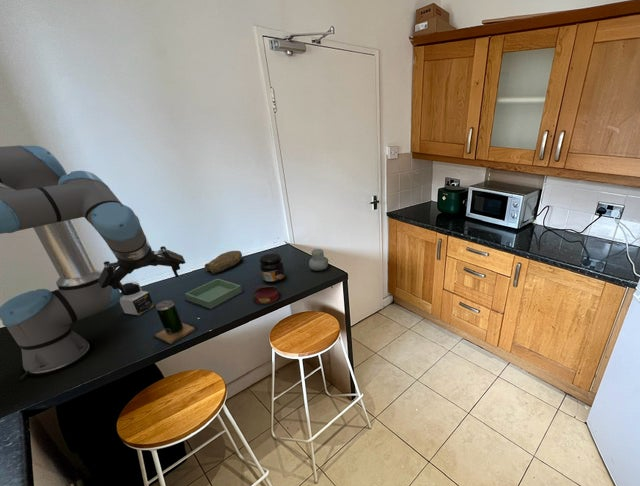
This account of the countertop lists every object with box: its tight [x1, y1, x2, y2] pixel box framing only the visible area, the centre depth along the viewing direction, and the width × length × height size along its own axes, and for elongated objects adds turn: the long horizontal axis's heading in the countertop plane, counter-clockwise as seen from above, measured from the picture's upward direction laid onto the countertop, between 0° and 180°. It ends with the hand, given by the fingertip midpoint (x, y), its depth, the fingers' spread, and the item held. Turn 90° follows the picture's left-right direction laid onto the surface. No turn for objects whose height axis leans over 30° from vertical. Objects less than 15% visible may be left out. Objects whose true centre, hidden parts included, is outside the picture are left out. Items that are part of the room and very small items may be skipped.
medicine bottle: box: [119, 281, 155, 316], centre depth 126 cm, size 7×7×12 cm
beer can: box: [155, 299, 183, 335], centre depth 112 cm, size 5×5×12 cm
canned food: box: [251, 284, 280, 305], centre depth 136 cm, size 11×10×10 cm
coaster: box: [154, 322, 196, 344], centre depth 115 cm, size 9×9×1 cm
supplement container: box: [258, 252, 286, 285], centre depth 150 cm, size 10×10×12 cm
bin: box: [184, 278, 243, 310], centre depth 138 cm, size 16×16×3 cm
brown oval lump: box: [204, 250, 243, 275], centre depth 165 cm, size 13×8×20 cm
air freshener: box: [308, 248, 329, 272], centre depth 161 cm, size 11×8×10 cm
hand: (150, 281), depth 97 cm, fingers open, 13 cm apart
